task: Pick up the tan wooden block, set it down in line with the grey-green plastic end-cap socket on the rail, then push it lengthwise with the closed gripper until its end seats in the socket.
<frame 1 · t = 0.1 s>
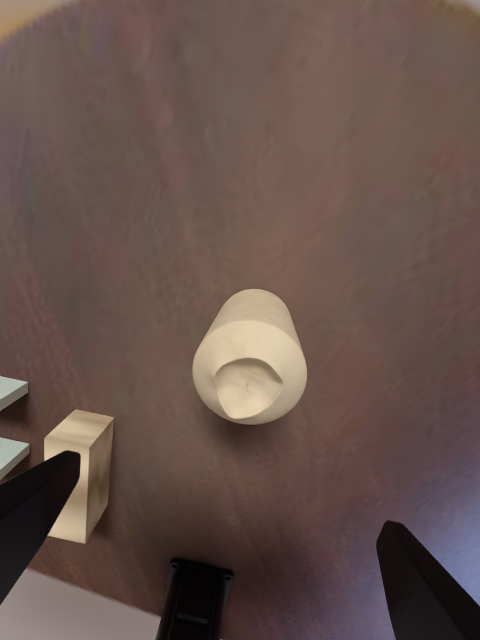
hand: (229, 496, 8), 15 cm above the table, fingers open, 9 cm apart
candle: (254, 323, 22), on the table
tan wooden block: (93, 457, 27), on the table
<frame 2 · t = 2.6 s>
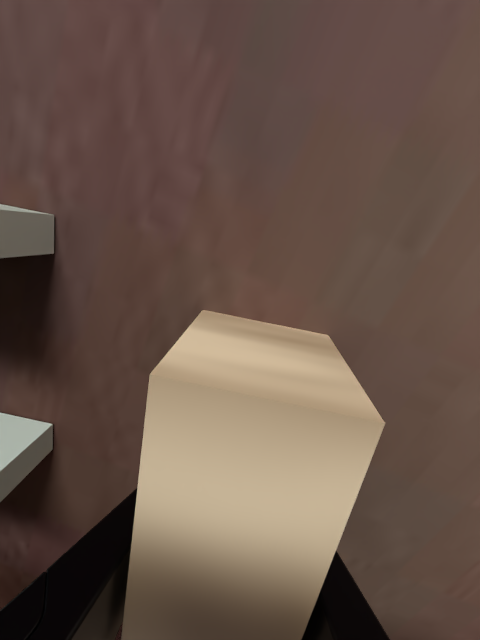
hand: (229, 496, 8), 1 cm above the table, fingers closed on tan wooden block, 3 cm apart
tan wooden block: (233, 465, 10), on the table, touching gripper
when the fingers open (2 cm above the table, at t = 5.5 s): tan wooden block drops 1 cm, on the table.
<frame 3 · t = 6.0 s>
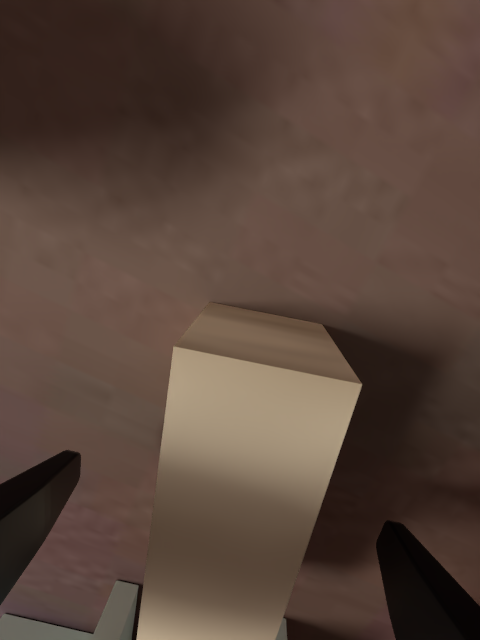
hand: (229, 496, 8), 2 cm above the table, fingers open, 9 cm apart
tan wooden block: (237, 442, 11), on the table
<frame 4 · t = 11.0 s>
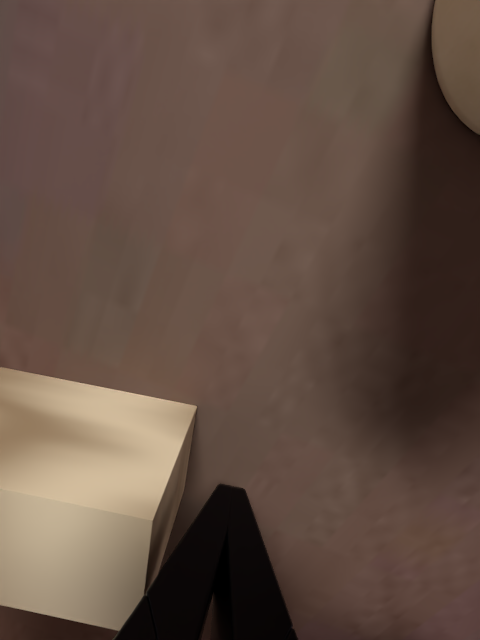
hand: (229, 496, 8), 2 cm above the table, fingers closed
tan wooden block: (49, 421, 10), on the table, touching gripper
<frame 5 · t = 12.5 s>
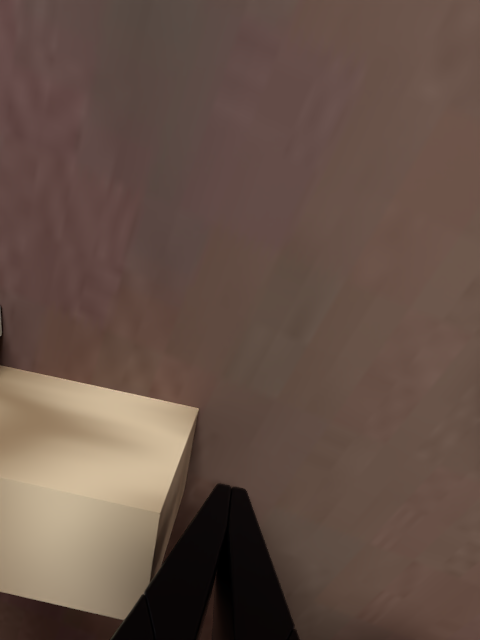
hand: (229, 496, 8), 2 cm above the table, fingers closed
tan wooden block: (54, 416, 10), on the table
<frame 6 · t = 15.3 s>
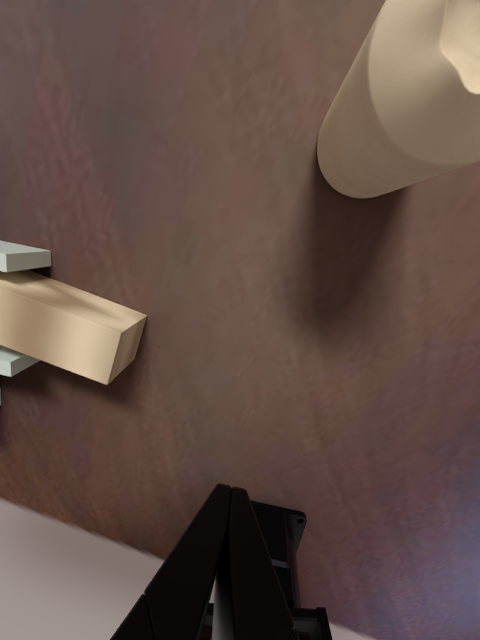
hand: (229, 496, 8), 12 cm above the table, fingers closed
candle: (365, 147, 16), on the table
tan wooden block: (74, 311, 21), on the table
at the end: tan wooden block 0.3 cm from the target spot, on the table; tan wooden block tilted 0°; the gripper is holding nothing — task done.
